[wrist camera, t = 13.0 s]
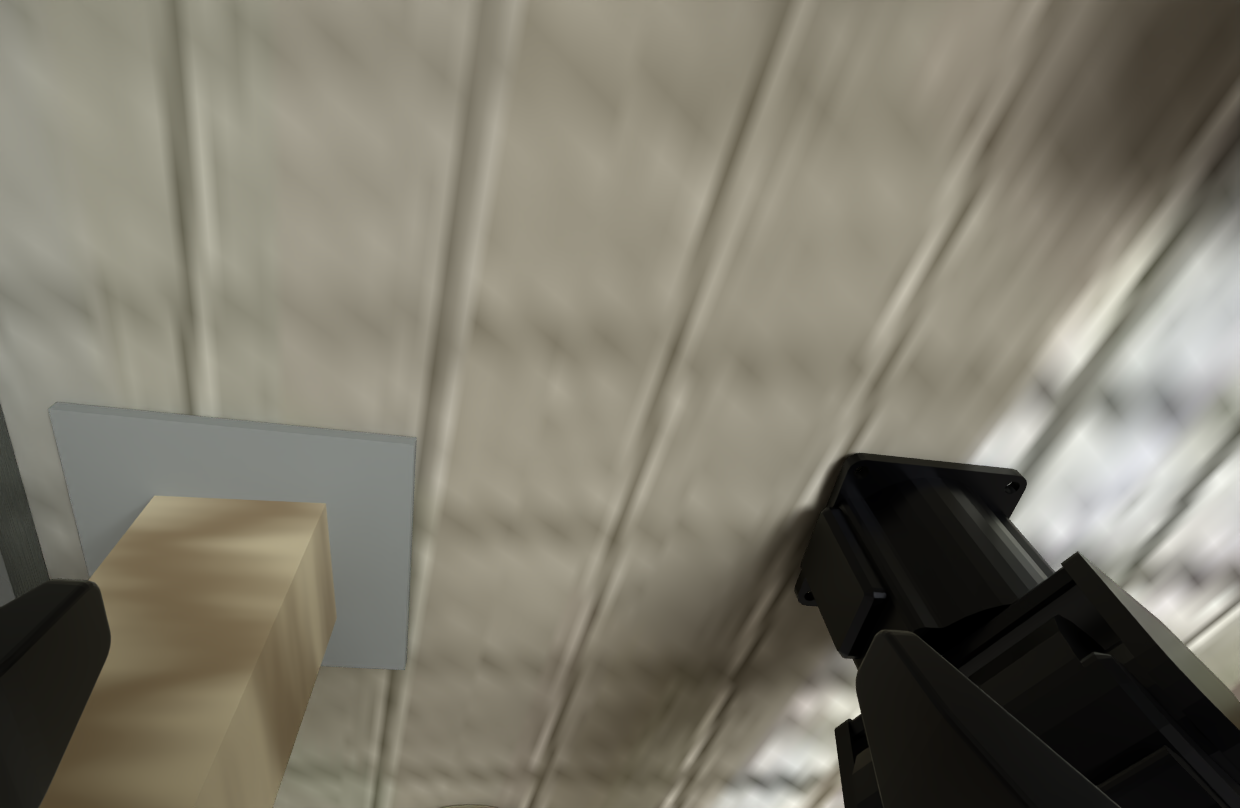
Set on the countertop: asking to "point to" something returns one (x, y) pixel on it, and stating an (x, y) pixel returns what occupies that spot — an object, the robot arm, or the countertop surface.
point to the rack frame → (16, 530)
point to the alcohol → (469, 806)
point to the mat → (259, 470)
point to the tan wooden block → (203, 656)
